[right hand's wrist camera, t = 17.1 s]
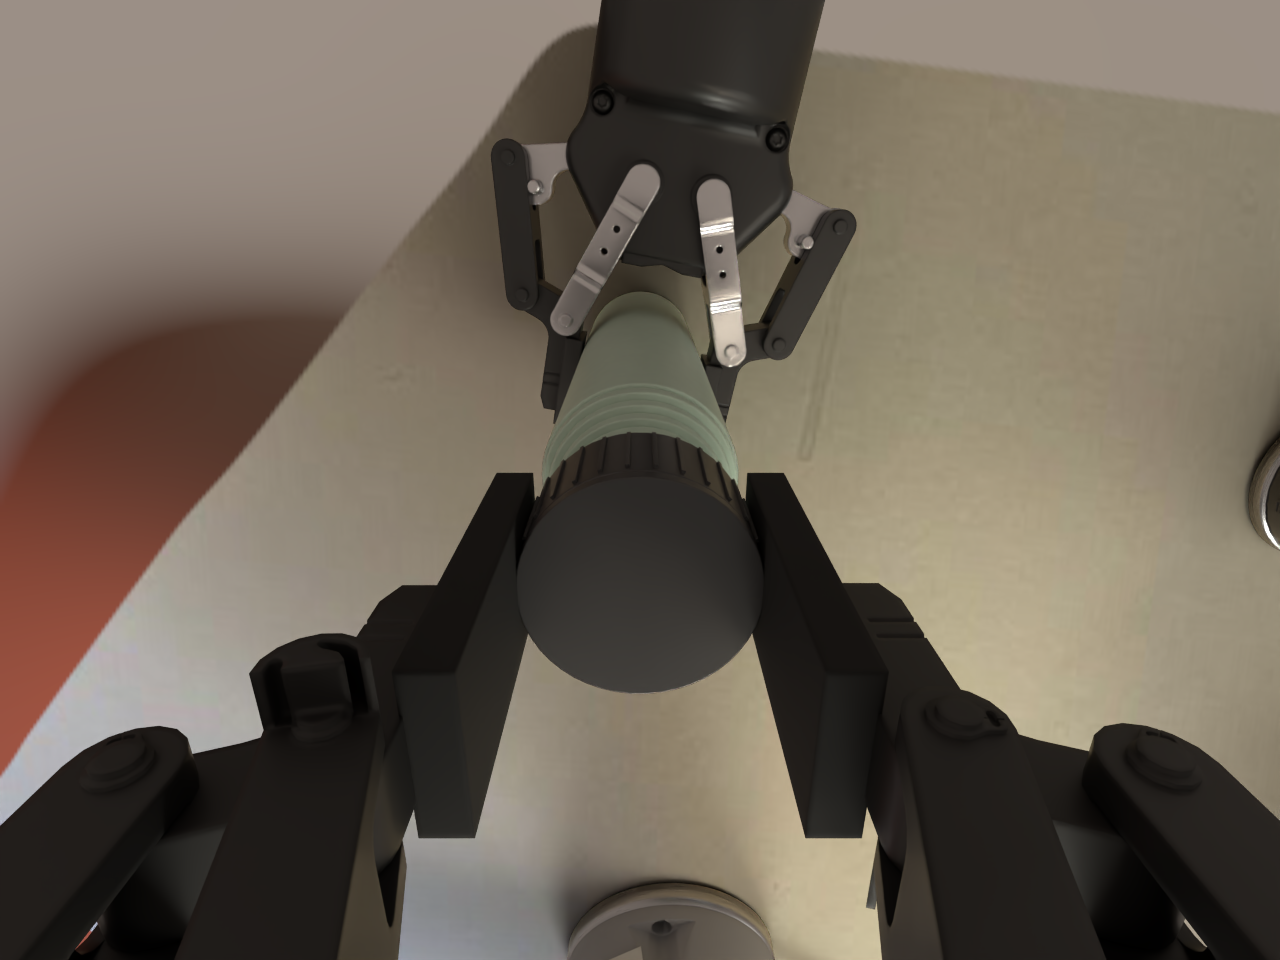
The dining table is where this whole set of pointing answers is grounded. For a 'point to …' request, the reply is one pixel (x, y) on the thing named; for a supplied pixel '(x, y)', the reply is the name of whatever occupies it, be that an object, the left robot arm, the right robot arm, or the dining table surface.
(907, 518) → the dining table surface
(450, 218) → the dining table surface
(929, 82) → the dining table surface
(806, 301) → the left robot arm
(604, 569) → the cap
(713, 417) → the bottle
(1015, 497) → the dining table surface
